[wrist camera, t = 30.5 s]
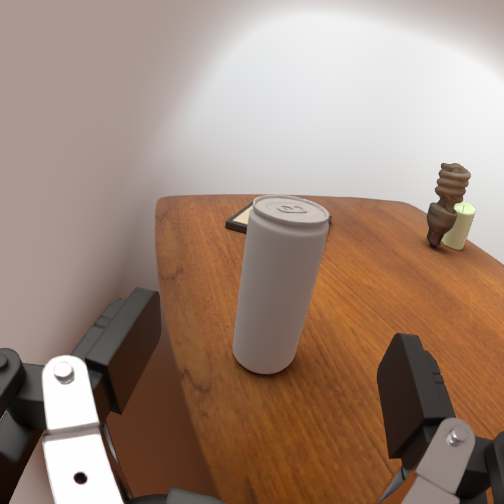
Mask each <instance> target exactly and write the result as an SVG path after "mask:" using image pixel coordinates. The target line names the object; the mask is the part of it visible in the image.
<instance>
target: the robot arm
mask: <svg viewBox="0 0 504 504" xmlns="http://www.w3.org/2000/svg"><path fill="white" fill-rule="evenodd" d="M160 313H161V312H160V295H159V292H157V291H153V290H148V289H144V288H139V287H136V288H135V289H134V290H133V292H132V293H131V295H130V296H129V297H128V298H127V300H126V299H122V298H120V299H118V300H116V301H115V302H113V303H111V304H110V305H108V307H107V308H106V309H105V310H104V311H103V313H102V314H101V315H100V317H99V318H98V319H97V320H96V322H95V323H94V326H93V325H92V327H91V328H90V329H89V330H88V332H87V333H86V334H85V336H84V337H83V338H82V340H81V341H80V342H79V344H78V345H77V346H76V347H75V349H74V350H73V351H72V353H71V354H70V355H62V356H59V357H55V358H53V359H52V360H50V361H49V362H48V363H47V364H46V365H35V364H27V363H22V361H21V359H20V357H19V355H18V354H17V352H16V351H14V350H12V349H9V348H1V349H0V419H1V417H2V416H3V414H4V412H5V411H6V410H7V411H6V413H5V414H4V416H3V418H2V419H1V421H0V504H9V501H10V499H11V497H12V495H13V493H14V490H15V488H16V486H17V484H18V482H19V479H20V477H21V475H22V473H23V471H24V469H25V466H26V465H27V463H28V461H29V459H30V456H31V455H32V452H33V450H34V448H35V447H36V444H37V443H38V441H39V438H40V437H41V435H42V433H43V431H44V429H47V434H44V435H43V438H42V442H43V449H44V456H45V461H46V467H47V471H48V476H49V481H50V486H51V490H52V494H53V498H54V502H55V504H227V503H225V502H222V501H220V500H218V499H215V498H213V497H210V496H205V495H201V494H197V493H193V492H189V491H185V490H181V489H177V488H173V487H170V490H169V493H168V494H155V495H146V496H141V497H136V498H134V497H133V495H132V492H131V490H130V487H129V485H128V483H127V480H126V478H125V476H124V474H123V472H122V469H121V466H120V463H119V460H118V458H117V455H116V451H115V448H114V445H113V442H112V439H111V436H110V432H109V429H108V426H107V423H106V418H107V416H108V414H109V413H110V411H112V412H115V413H118V414H120V415H121V414H122V412H123V410H124V408H125V406H126V404H127V402H128V400H129V398H130V396H131V394H132V392H133V390H134V389H135V387H136V384H137V382H138V381H139V379H140V377H141V375H142V373H143V371H144V369H145V367H146V365H147V363H148V361H149V359H150V358H151V356H152V354H153V352H154V350H155V348H156V346H157V344H158V342H159V339H160V335H161V314H160ZM440 373H441V372H440V370H439V367H438V364H437V362H436V360H435V359H434V358H433V357H432V355H431V354H430V353H429V352H428V351H424V349H423V347H422V344H421V342H420V339H419V337H418V336H417V335H411V334H402V333H397V334H395V335H394V337H393V339H392V341H391V343H390V345H389V347H388V349H387V351H386V353H385V355H384V357H383V359H382V361H381V363H380V365H379V368H378V372H377V384H378V389H379V395H380V401H381V407H382V413H383V419H384V425H385V432H386V439H387V447H388V454H389V459H396V458H401V460H402V465H401V466H400V467H399V468H398V469H397V471H396V472H395V474H394V475H393V477H392V478H391V480H390V481H389V483H388V484H387V485H386V487H385V488H384V490H383V491H382V492H381V494H380V495H379V497H378V498H377V499H376V501H375V502H374V503H373V504H488V503H487V497H486V490H487V489H488V488H490V487H491V488H492V493H493V499H494V504H504V431H503V432H501V433H500V434H498V435H497V436H496V437H495V438H494V439H493V440H489V439H485V438H481V437H477V436H475V434H474V432H473V430H472V428H471V427H470V426H469V424H467V423H466V422H465V421H463V420H461V419H459V418H456V416H455V413H454V410H453V407H452V404H451V401H450V398H449V395H448V392H447V389H446V386H445V385H444V381H443V378H442V375H440Z"/></svg>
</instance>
